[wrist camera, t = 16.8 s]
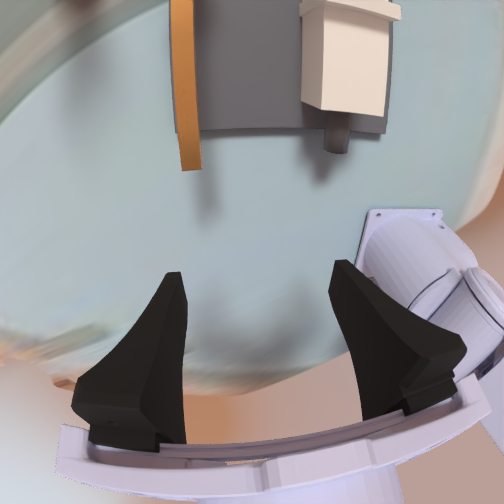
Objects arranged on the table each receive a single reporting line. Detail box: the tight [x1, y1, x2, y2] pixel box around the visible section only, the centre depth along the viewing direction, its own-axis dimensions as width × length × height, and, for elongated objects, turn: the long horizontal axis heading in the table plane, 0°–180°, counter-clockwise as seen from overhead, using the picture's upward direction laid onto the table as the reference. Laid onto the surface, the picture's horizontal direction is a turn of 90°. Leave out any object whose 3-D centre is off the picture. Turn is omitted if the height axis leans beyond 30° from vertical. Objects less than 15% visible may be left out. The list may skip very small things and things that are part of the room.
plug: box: [299, 0, 401, 154], centre depth 12 cm, size 4×17×5 cm, turn 0°
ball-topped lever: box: [171, 0, 203, 171], centre depth 9 cm, size 15×2×1 cm, turn 1°
